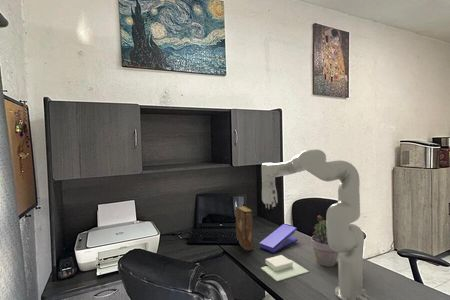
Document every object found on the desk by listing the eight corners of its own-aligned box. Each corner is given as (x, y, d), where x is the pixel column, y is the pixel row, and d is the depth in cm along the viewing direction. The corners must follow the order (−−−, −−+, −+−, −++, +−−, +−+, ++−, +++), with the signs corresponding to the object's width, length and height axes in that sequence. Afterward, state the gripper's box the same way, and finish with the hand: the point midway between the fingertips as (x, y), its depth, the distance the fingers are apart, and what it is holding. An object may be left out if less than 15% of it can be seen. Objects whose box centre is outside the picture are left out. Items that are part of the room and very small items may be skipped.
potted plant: (333, 275, 131) (332, 226, 130) (302, 261, 147) (301, 217, 146) (353, 265, 141) (352, 219, 140) (322, 252, 157) (321, 212, 156)
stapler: (298, 240, 177) (298, 226, 177) (273, 254, 158) (273, 238, 158) (284, 236, 186) (283, 223, 186) (259, 248, 167) (258, 233, 166)
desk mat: (308, 272, 135) (308, 271, 135) (277, 281, 127) (277, 280, 127) (290, 260, 149) (290, 259, 149) (260, 268, 140) (260, 267, 140)
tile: (281, 259, 149) (292, 267, 140) (265, 263, 144) (276, 271, 135) (281, 254, 149) (292, 262, 140) (265, 259, 144) (275, 266, 135)
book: (254, 249, 165) (253, 210, 164) (246, 251, 163) (245, 212, 162) (243, 240, 180) (242, 205, 179) (236, 241, 178) (235, 206, 177)
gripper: (281, 185, 146) (282, 217, 146) (266, 181, 159) (267, 211, 160) (270, 186, 142) (271, 219, 143) (256, 183, 156) (257, 213, 156)
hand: (269, 215), depth 151 cm, fingers closed
